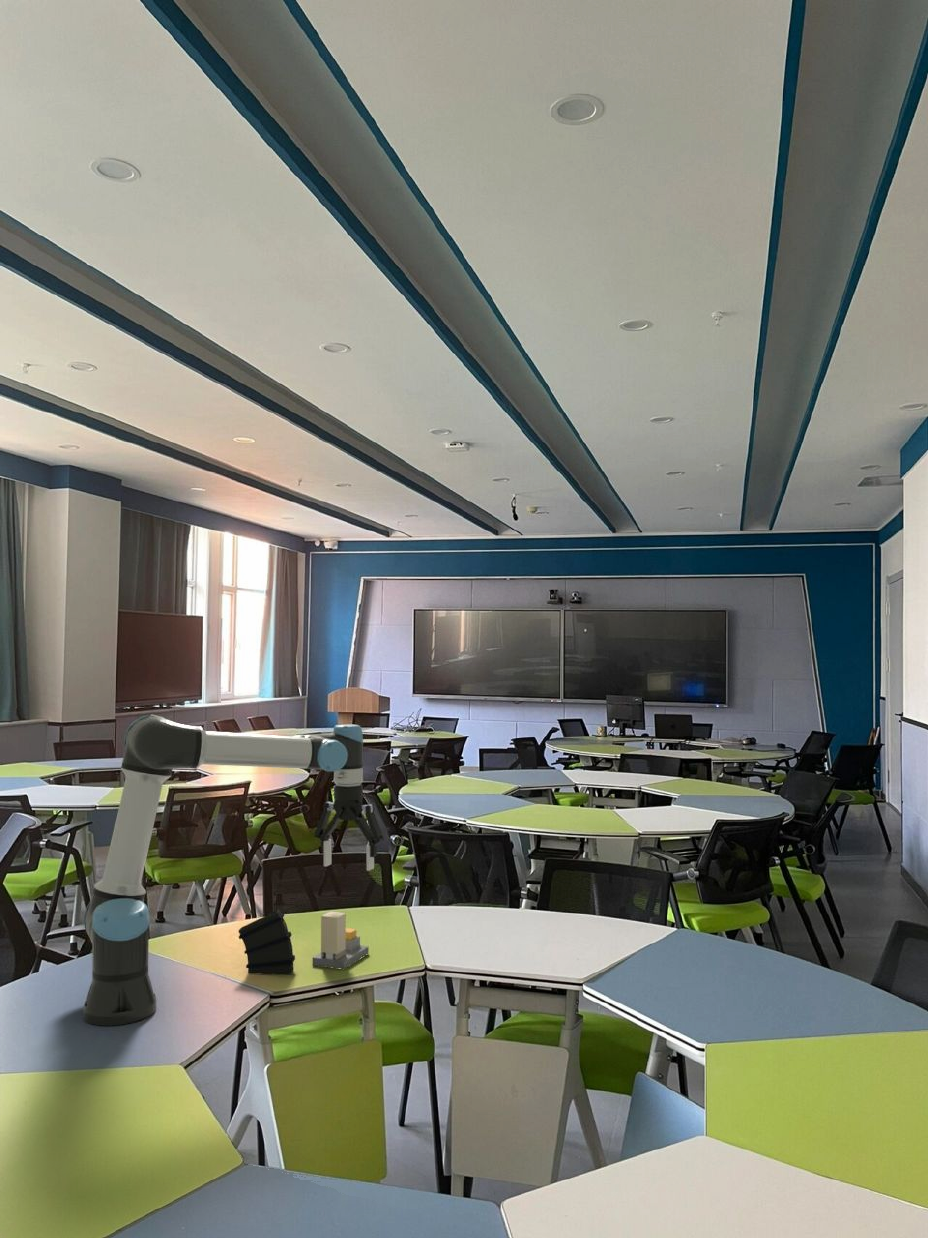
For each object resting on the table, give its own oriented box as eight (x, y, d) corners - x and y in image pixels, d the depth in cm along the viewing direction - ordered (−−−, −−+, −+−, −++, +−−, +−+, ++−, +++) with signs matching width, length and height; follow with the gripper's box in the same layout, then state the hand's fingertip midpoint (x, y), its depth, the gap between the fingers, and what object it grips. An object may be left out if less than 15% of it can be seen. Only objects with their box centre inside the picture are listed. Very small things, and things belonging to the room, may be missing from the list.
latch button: (340, 943, 247) (340, 931, 247) (346, 939, 250) (346, 928, 250) (350, 944, 246) (350, 932, 246) (356, 941, 249) (356, 929, 249)
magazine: (304, 968, 233) (277, 912, 234) (255, 991, 233) (229, 935, 234) (307, 963, 237) (281, 908, 237) (259, 986, 237) (233, 931, 237)
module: (321, 957, 240) (321, 916, 240) (329, 952, 244) (330, 911, 244) (337, 959, 238) (337, 917, 238) (345, 954, 242) (345, 913, 242)
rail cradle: (312, 965, 240) (312, 947, 240) (338, 950, 252) (338, 933, 252) (343, 970, 237) (343, 951, 237) (368, 954, 249) (368, 936, 249)
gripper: (300, 783, 250) (301, 866, 249) (383, 788, 241) (383, 874, 240) (315, 779, 257) (316, 860, 256) (396, 784, 247) (396, 868, 247)
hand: (348, 867), depth 248 cm, fingers open, 12 cm apart
